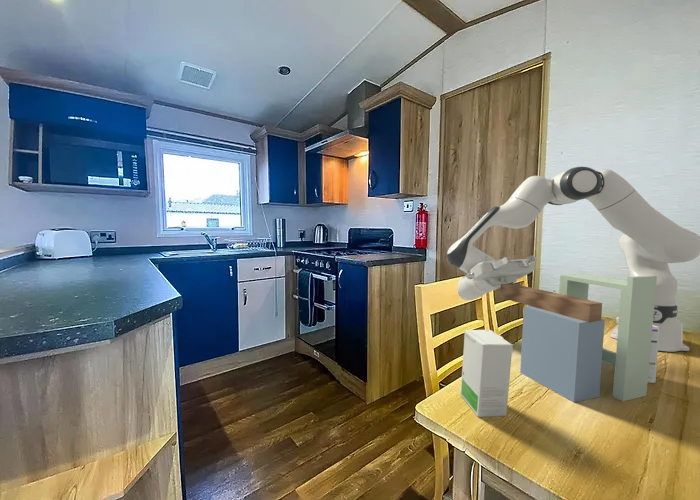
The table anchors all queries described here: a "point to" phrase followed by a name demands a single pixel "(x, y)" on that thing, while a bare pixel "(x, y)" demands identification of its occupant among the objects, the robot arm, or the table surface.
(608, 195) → the robot arm
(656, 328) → the syrup box
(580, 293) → the sage shelf
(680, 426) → the table surface
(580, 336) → the slate-blue block
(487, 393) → the skincare box
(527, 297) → the walnut batten
